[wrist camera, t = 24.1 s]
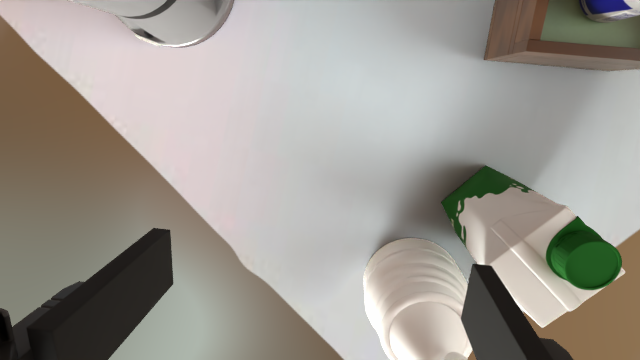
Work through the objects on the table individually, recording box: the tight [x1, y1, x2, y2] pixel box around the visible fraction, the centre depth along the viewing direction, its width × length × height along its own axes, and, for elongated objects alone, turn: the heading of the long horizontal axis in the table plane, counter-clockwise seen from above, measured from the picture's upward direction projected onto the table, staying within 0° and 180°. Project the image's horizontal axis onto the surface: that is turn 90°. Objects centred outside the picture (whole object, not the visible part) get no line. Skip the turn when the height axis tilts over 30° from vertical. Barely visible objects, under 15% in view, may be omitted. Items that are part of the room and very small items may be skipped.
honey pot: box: [363, 238, 473, 360], centre depth 42 cm, size 13×13×18 cm
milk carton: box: [441, 166, 625, 327], centre depth 37 cm, size 9×9×20 cm
